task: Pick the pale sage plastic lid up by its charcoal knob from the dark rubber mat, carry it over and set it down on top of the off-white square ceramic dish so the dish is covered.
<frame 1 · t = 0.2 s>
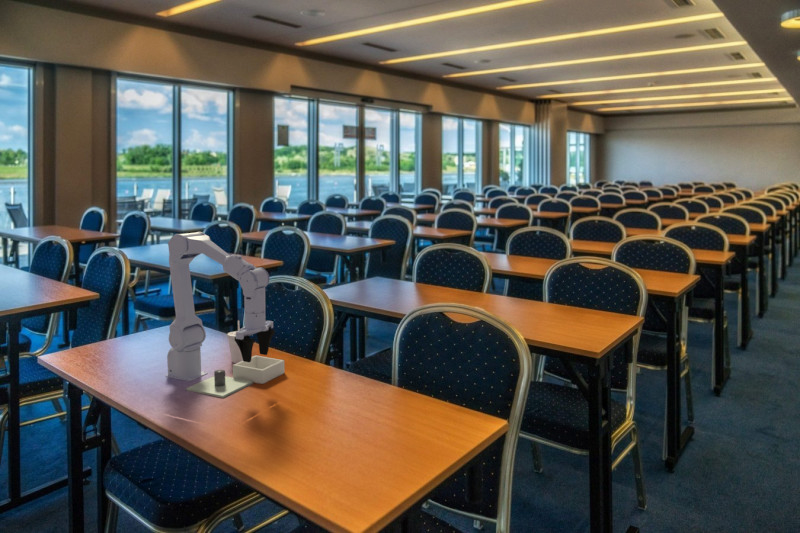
hand: (255, 357, 170), 10 cm above the table, fingers open, 7 cm apart
lid: (220, 386, 173), resting on mat
dish: (259, 376, 183), on the table
smoothie: (237, 362, 197), on the table
mat: (220, 387, 173), on the table
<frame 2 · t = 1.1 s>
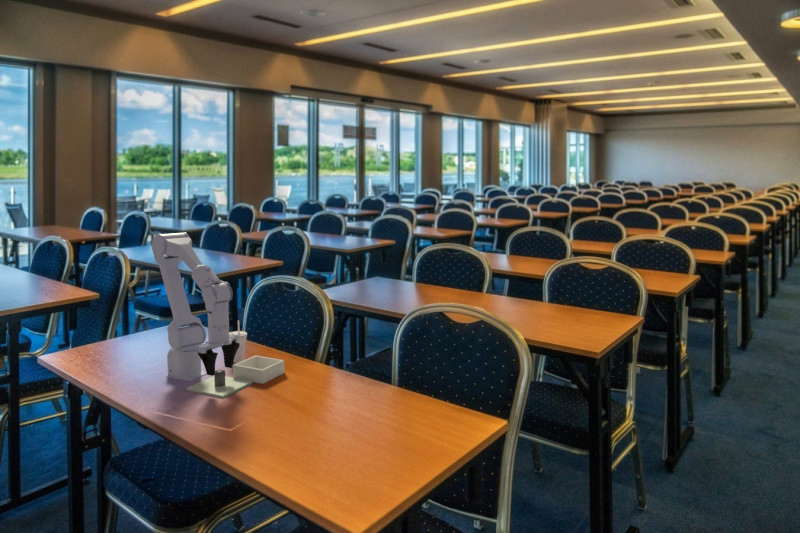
hand: (219, 371, 172), 5 cm above the table, fingers open, 7 cm apart
nothing on the table moved.
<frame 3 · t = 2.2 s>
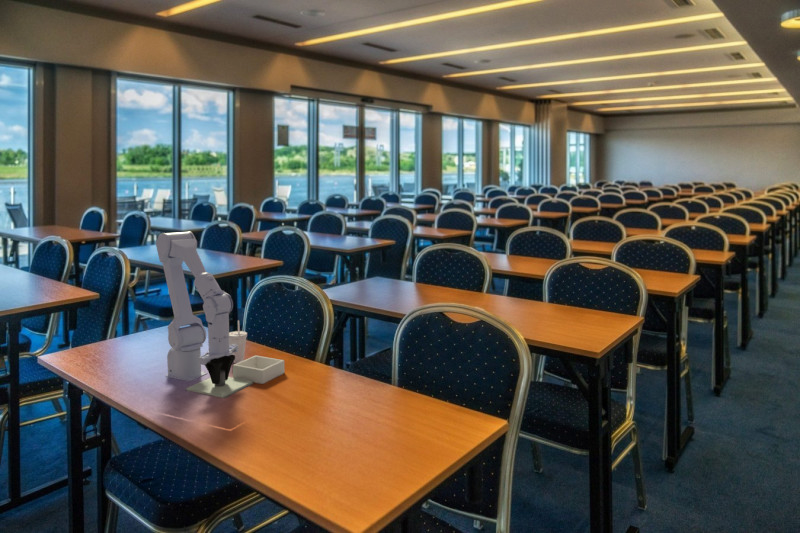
hand: (219, 381, 173), 2 cm above the table, fingers closed on lid, 3 cm apart
lid: (220, 386, 173), resting on mat, touching gripper
everything else where it was.
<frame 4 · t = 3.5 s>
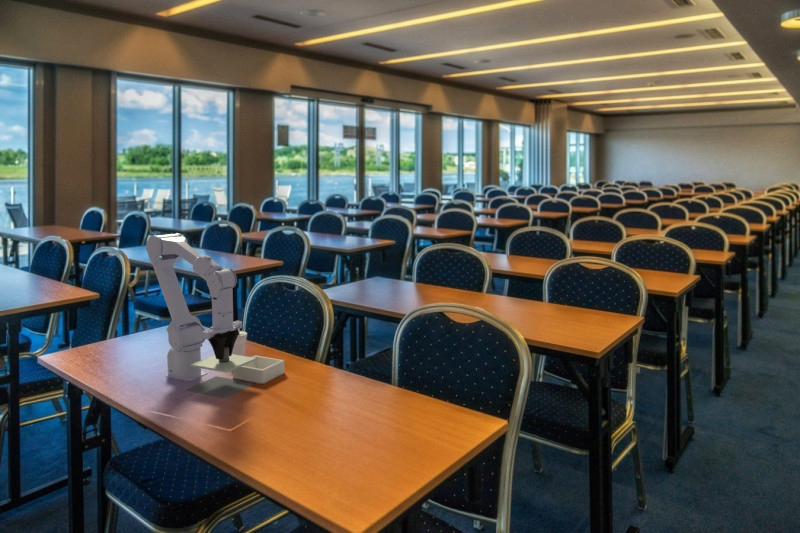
hand: (223, 357, 173), 9 cm above the table, fingers closed on lid, 3 cm apart
lid: (224, 363, 173), point 7 cm above the table, touching gripper
everything else where it was.
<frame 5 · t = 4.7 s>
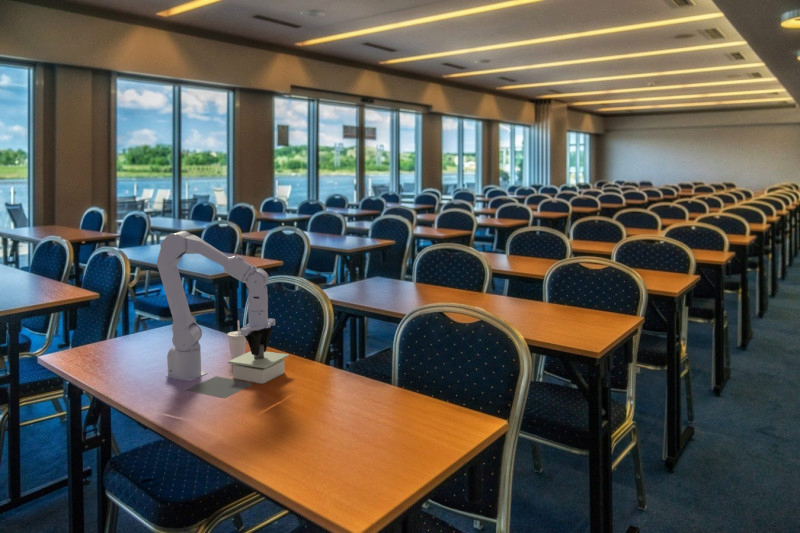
hand: (258, 353, 182), 7 cm above the table, fingers closed on lid, 3 cm apart
lid: (259, 359, 182), point 5 cm above the table, touching gripper
everything else where it was.
when the fingers open (7 cm above the table, at t = 5.2 s): lid stays where it is, resting on dish.
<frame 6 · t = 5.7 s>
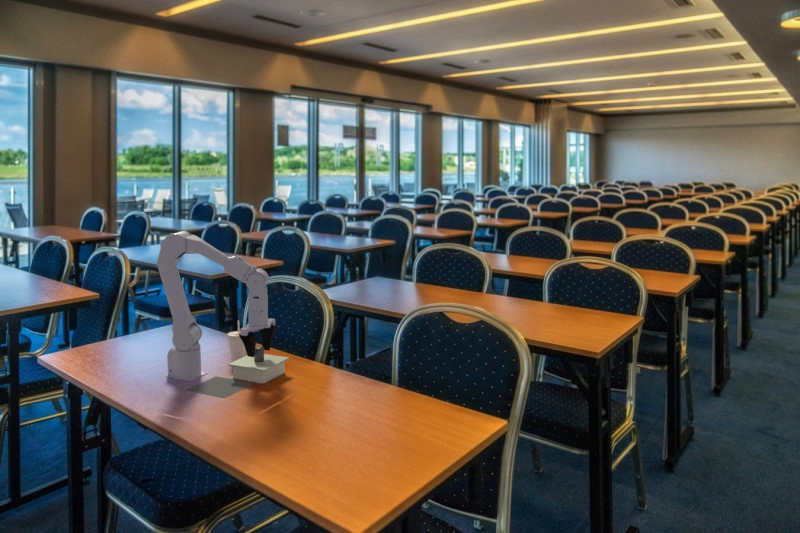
hand: (258, 353, 182), 8 cm above the table, fingers open, 7 cm apart
lid: (259, 362, 183), point 4 cm above the table, touching dish
everything else where it was.
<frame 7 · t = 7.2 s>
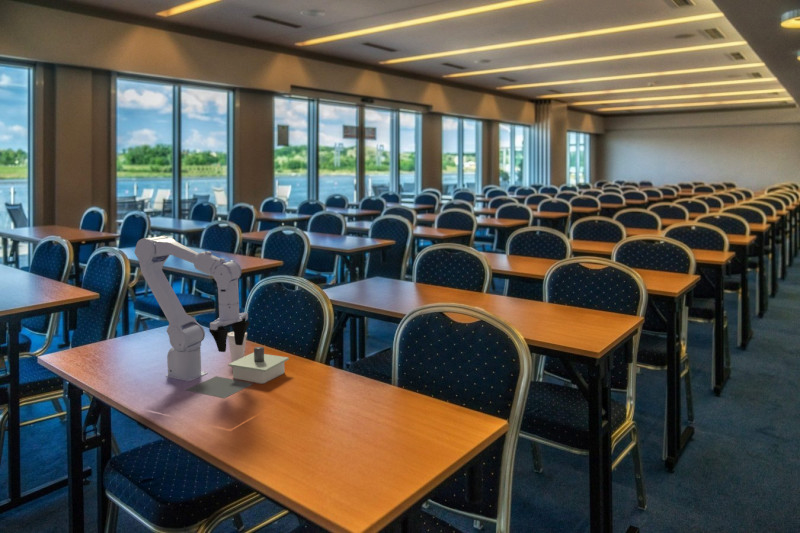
hand: (230, 348, 177), 10 cm above the table, fingers open, 7 cm apart
nothing on the table moved.
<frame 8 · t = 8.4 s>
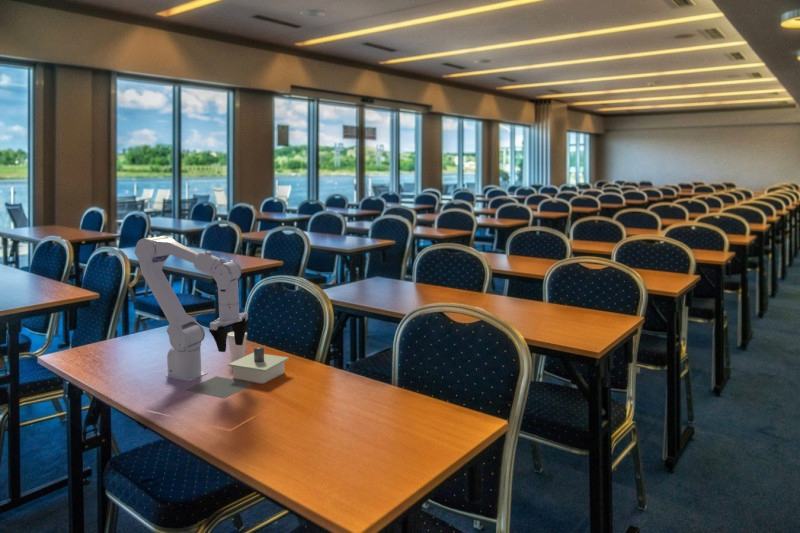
hand: (230, 348, 177), 10 cm above the table, fingers open, 7 cm apart
nothing on the table moved.
at the end: lid 0.1 cm off-centre on the dish, point 4.5 cm above the dish's base; lid tilted 0°; the gripper is holding nothing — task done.
